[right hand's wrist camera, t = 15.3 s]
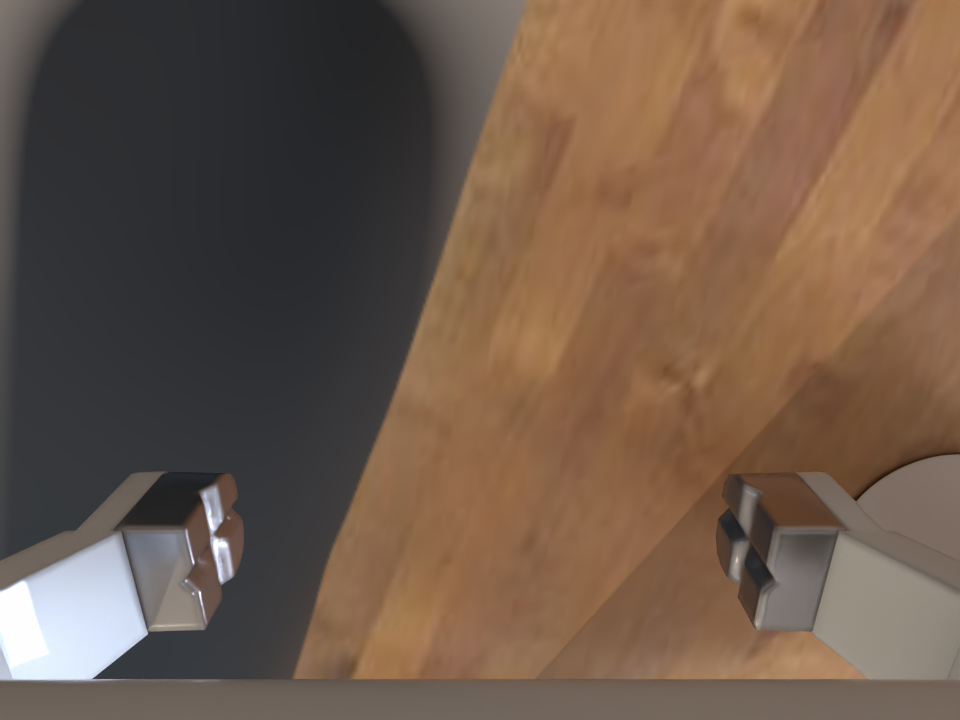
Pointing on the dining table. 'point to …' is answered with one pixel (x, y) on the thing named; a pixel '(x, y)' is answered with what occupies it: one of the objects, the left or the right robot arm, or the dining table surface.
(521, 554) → the dining table surface
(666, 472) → the dining table surface
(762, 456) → the dining table surface
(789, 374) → the dining table surface
